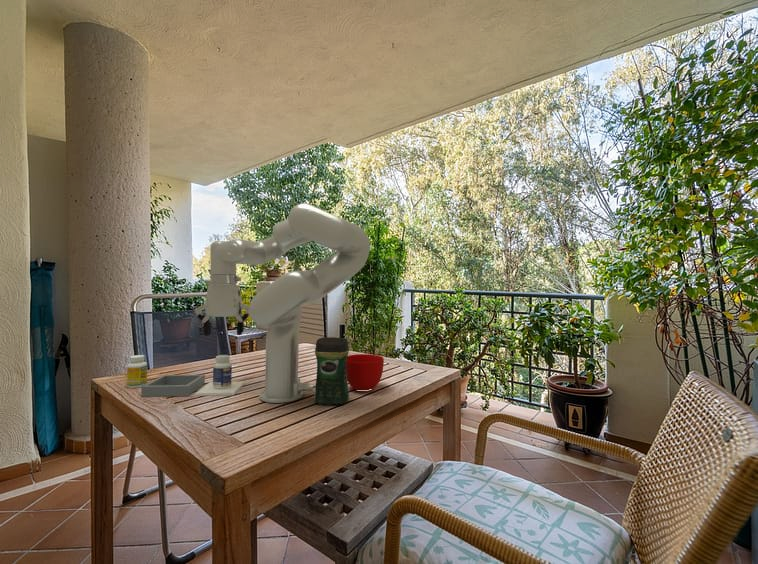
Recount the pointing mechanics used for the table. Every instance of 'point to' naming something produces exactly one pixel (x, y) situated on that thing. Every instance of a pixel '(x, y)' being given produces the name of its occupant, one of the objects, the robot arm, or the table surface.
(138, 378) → the supplement bottle
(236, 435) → the table surface
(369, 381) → the ceramic cup
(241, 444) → the table surface
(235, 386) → the tile
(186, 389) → the bin
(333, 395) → the coffee jar
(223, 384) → the pill bottle
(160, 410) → the table surface
